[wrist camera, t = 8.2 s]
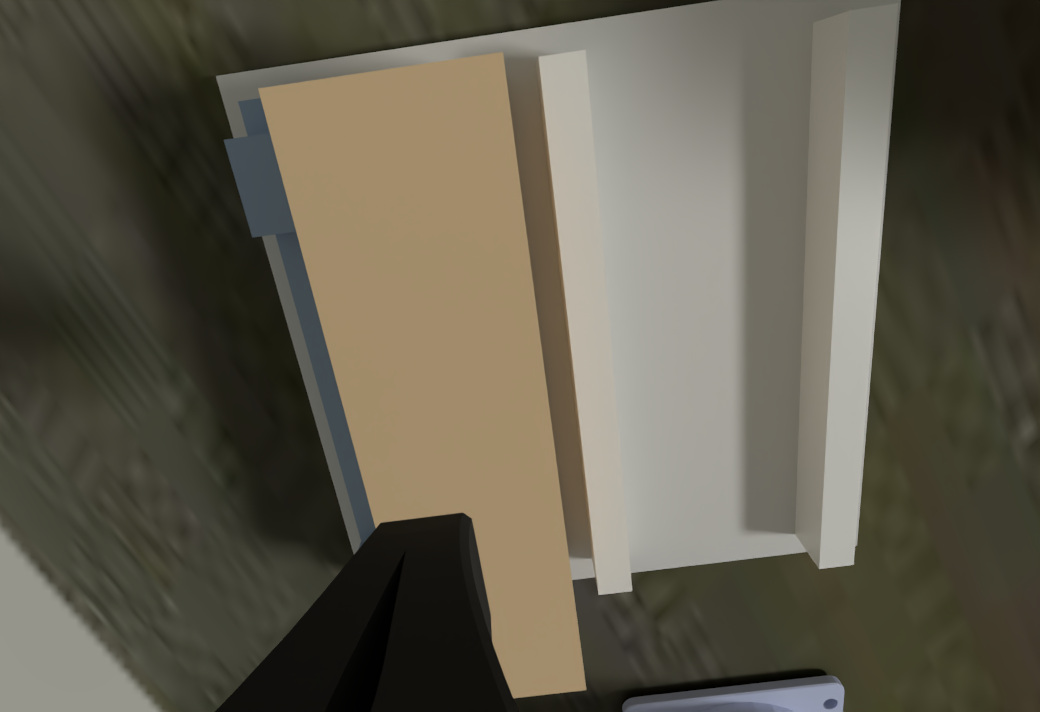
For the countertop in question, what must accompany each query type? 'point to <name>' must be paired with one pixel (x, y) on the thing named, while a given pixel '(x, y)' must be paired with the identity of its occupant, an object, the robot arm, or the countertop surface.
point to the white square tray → (666, 269)
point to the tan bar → (437, 326)
